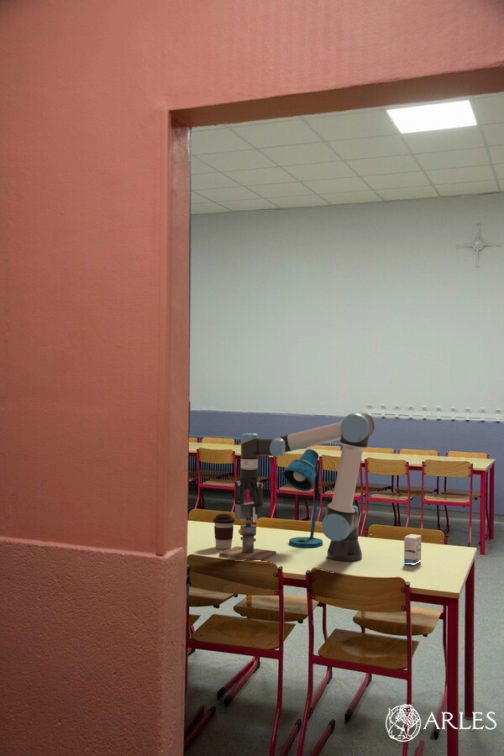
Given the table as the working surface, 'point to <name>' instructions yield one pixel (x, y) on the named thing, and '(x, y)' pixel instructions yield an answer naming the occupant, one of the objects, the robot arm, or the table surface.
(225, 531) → the coffee cup
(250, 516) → the twist cap
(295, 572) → the table surface
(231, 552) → the post base
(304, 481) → the desk lamp
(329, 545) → the robot arm
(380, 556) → the table surface
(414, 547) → the ink box
